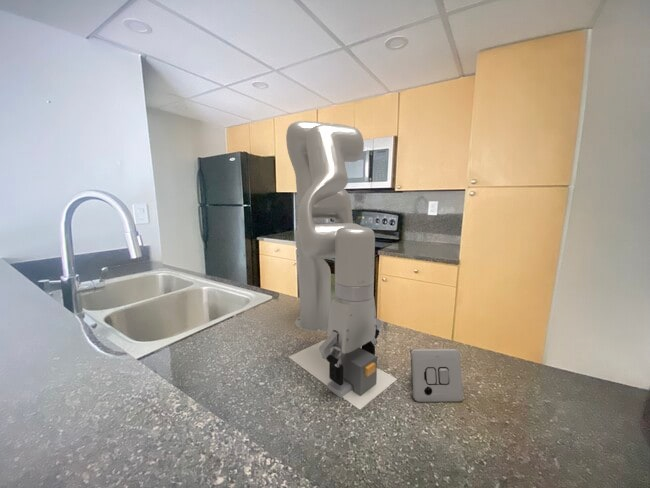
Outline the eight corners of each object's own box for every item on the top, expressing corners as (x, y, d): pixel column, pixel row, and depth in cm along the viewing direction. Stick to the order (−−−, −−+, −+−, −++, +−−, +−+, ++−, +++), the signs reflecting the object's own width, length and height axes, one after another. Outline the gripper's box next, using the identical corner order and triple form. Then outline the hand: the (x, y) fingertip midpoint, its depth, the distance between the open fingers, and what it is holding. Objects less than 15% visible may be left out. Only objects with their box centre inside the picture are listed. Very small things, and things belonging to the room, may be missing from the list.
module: (346, 366, 58) (347, 341, 57) (378, 385, 52) (379, 357, 51) (330, 376, 55) (330, 349, 54) (362, 398, 49) (363, 368, 48)
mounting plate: (325, 343, 70) (325, 335, 70) (397, 384, 54) (397, 374, 54) (286, 362, 62) (286, 353, 62) (357, 417, 46) (357, 405, 46)
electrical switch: (414, 403, 49) (414, 355, 49) (405, 386, 54) (406, 343, 54) (463, 403, 49) (465, 354, 49) (450, 386, 54) (451, 343, 54)
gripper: (366, 278, 59) (365, 347, 62) (307, 296, 48) (308, 381, 50) (395, 285, 54) (392, 361, 56) (336, 307, 42) (336, 402, 45)
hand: (353, 370), depth 53 cm, fingers open, 9 cm apart
